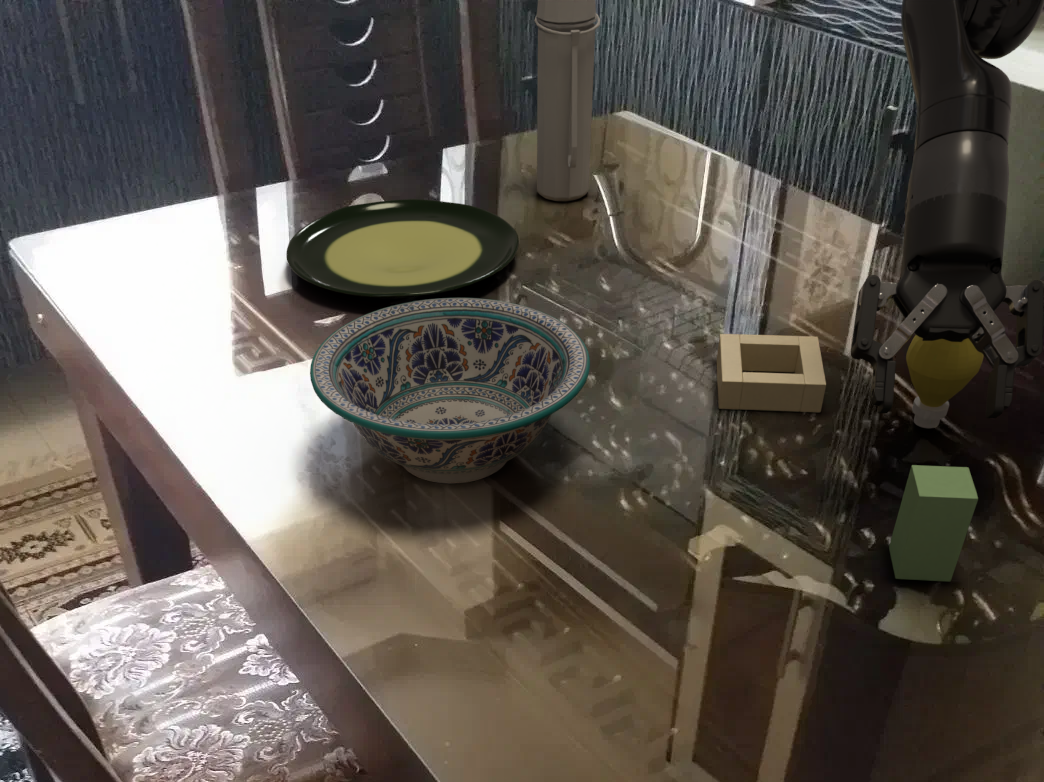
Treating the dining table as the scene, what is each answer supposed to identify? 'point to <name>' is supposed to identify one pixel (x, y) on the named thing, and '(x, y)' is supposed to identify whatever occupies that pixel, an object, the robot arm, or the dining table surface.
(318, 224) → the plate
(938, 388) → the light bulb
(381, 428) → the bowl
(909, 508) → the post
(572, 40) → the water bottle
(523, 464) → the dining table surface
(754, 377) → the socket pad
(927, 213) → the robot arm
